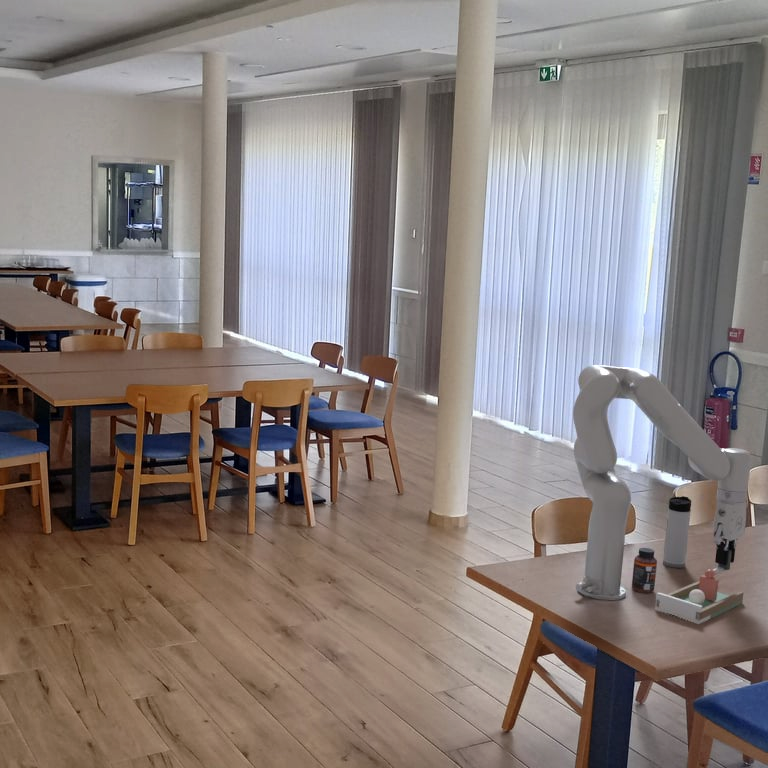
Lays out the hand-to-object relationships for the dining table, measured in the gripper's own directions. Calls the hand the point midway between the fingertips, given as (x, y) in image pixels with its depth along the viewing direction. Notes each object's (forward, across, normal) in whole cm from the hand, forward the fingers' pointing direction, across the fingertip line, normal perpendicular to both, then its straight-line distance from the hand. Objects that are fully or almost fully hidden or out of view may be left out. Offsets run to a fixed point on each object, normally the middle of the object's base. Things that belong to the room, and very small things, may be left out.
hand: (724, 561), depth 273 cm
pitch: (+10, -12, 0) cm, 15 cm away
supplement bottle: (+10, -13, +16) cm, 23 cm away
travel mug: (+10, +15, +22) cm, 28 cm away
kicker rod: (+8, -4, 0) cm, 9 cm away
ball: (+7, -14, 0) cm, 15 cm away
